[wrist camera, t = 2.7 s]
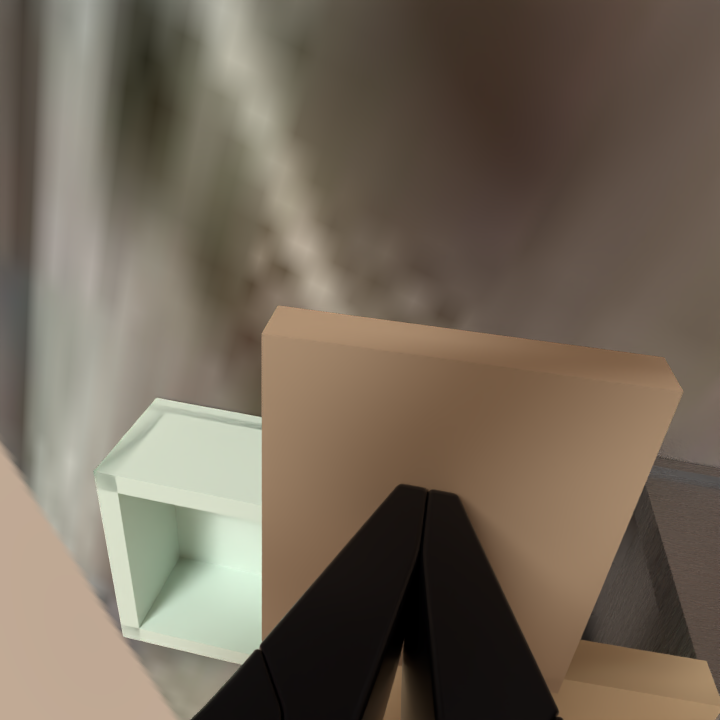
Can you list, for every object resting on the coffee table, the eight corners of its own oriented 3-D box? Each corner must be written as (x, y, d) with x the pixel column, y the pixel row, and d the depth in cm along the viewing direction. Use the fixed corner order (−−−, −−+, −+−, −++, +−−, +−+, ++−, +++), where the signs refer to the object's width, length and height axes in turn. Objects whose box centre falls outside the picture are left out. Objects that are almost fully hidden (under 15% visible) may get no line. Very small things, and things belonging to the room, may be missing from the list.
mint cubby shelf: (484, 458, 18) (480, 549, 15) (448, 612, 21) (439, 711, 18) (156, 397, 19) (93, 471, 16) (172, 552, 23) (123, 636, 20)
